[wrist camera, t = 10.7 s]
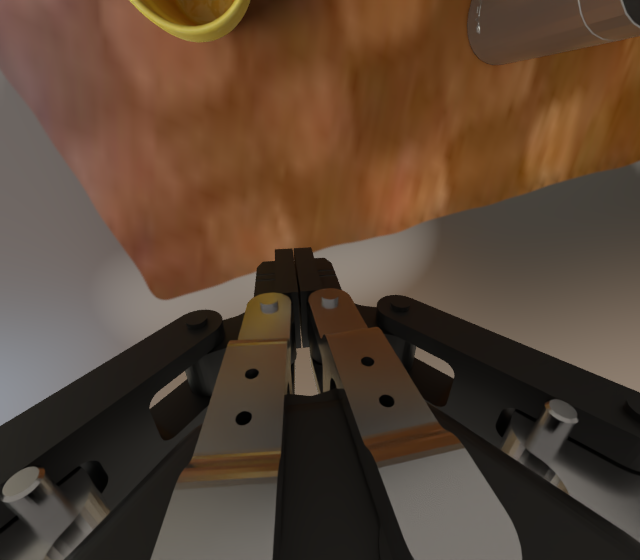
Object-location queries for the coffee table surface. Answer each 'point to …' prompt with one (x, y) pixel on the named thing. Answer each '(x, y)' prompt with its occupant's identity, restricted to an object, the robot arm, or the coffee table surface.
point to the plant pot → (194, 17)
